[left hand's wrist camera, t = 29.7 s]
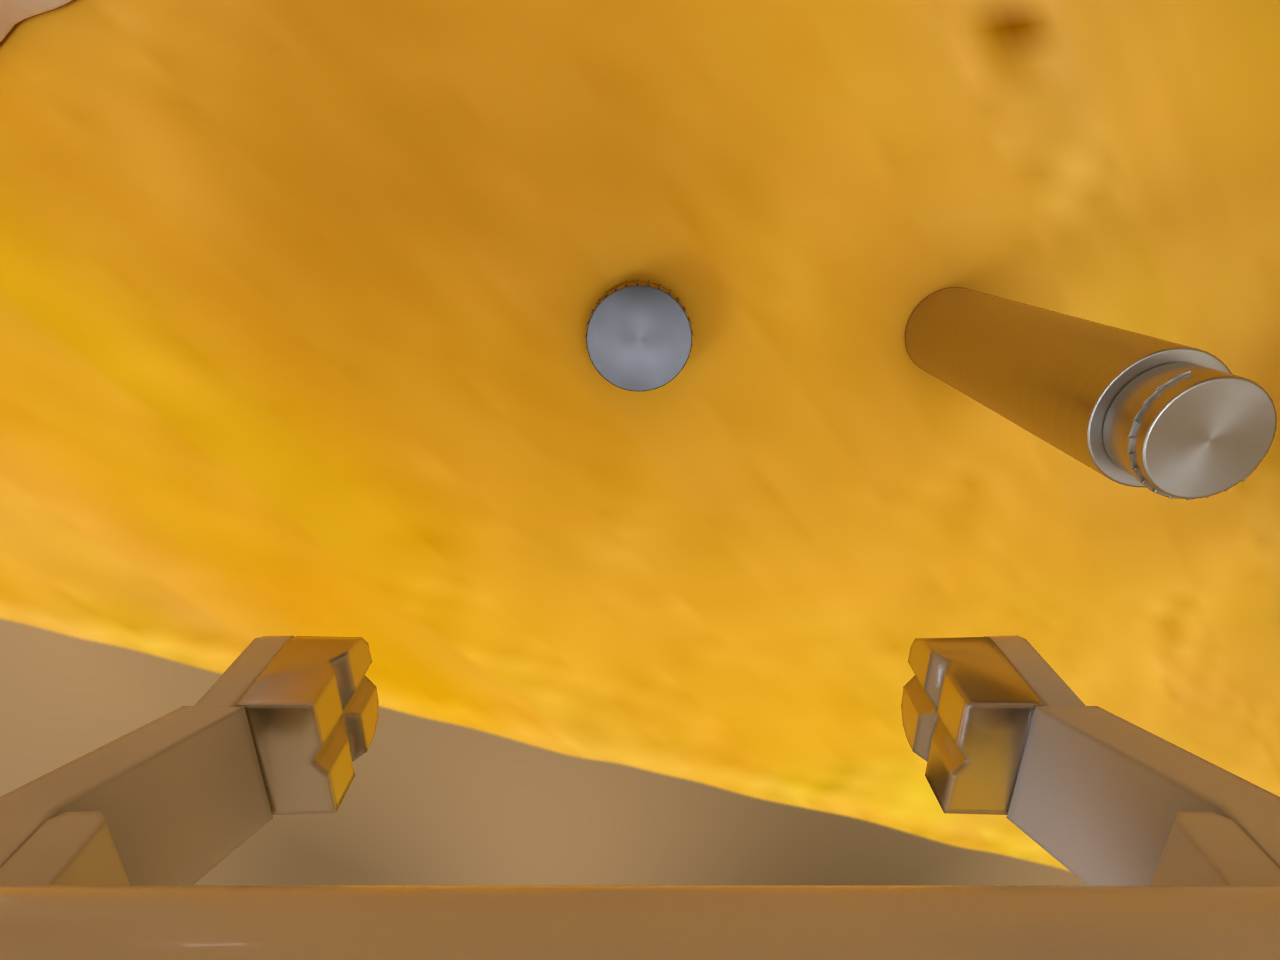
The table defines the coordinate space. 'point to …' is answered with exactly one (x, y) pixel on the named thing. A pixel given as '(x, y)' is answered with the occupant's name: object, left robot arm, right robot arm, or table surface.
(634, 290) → the lid
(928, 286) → the table surface
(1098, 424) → the bottle
